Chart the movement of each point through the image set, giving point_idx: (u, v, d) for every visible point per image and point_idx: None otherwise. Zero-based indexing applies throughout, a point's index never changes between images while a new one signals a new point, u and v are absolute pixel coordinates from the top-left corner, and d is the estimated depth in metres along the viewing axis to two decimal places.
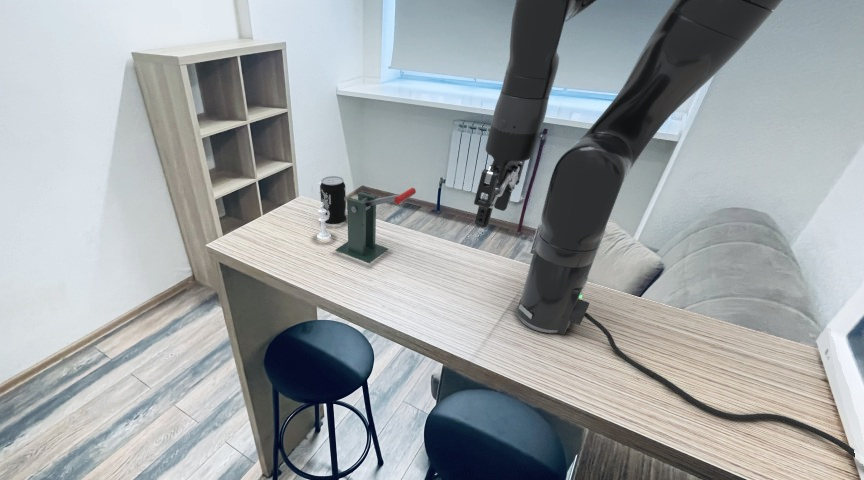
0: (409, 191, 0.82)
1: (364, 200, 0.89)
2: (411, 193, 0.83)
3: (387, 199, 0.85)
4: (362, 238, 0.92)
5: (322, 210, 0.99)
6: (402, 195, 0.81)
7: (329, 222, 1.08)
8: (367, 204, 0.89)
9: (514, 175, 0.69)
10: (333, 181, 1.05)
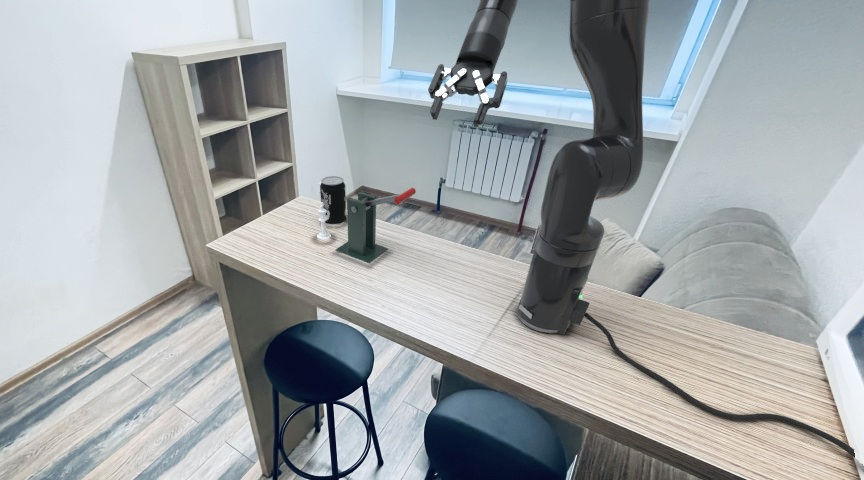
0: (409, 191, 0.82)
1: (364, 200, 0.89)
2: (411, 193, 0.83)
3: (387, 199, 0.85)
4: (362, 238, 0.92)
5: (322, 210, 0.99)
6: (402, 195, 0.81)
7: (329, 222, 1.08)
8: (367, 204, 0.89)
9: (474, 79, 0.78)
10: (333, 181, 1.05)
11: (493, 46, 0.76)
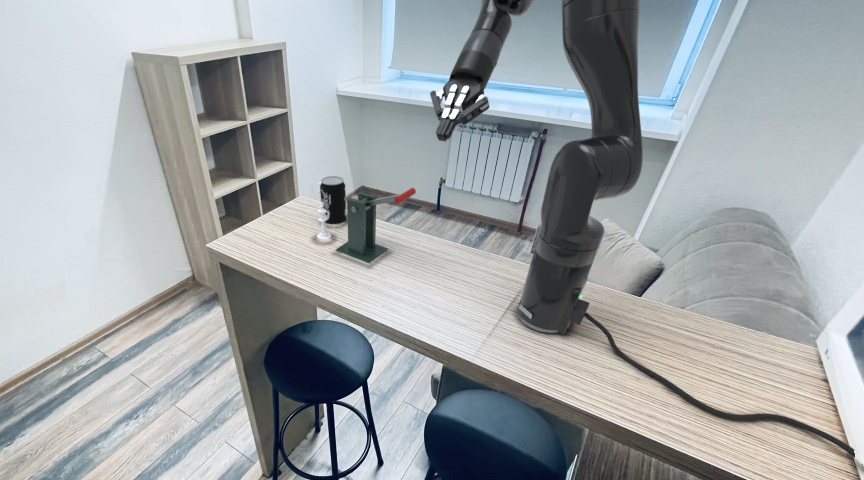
0: (409, 191, 0.82)
1: (364, 200, 0.89)
2: (411, 193, 0.83)
3: (387, 199, 0.85)
4: (362, 238, 0.92)
5: (322, 210, 0.99)
6: (402, 195, 0.81)
7: (329, 222, 1.08)
8: (367, 204, 0.89)
9: (461, 92, 0.80)
10: (333, 181, 1.05)
11: (483, 63, 0.79)
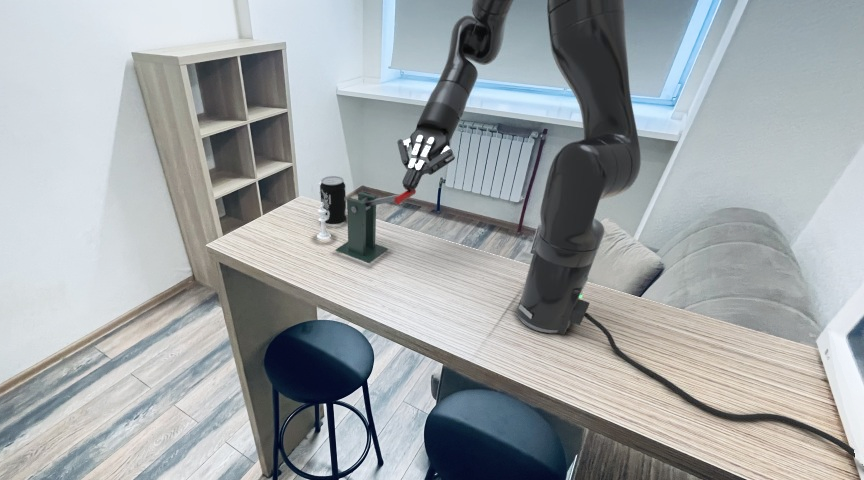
0: (409, 191, 0.82)
1: (364, 200, 0.89)
2: (411, 193, 0.83)
3: (387, 199, 0.85)
4: (362, 238, 0.92)
5: (322, 210, 0.99)
6: (402, 195, 0.81)
7: (329, 222, 1.08)
8: (367, 204, 0.89)
9: None
10: (333, 181, 1.05)
11: (448, 115, 0.79)
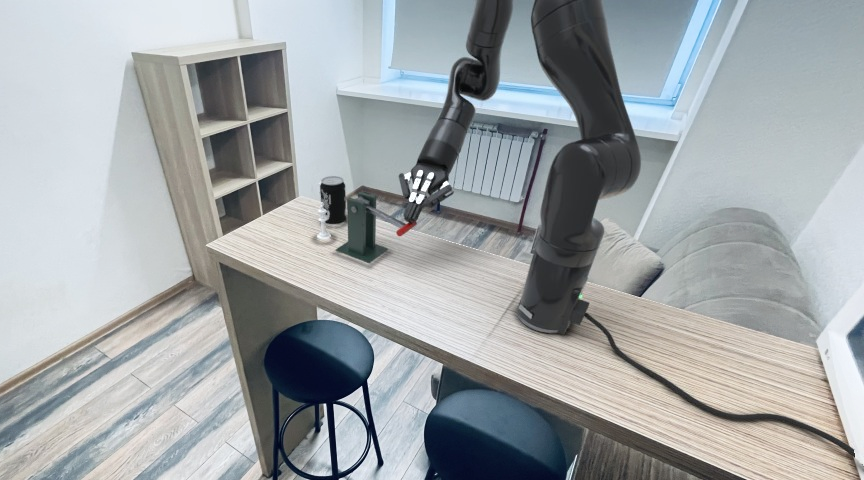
0: (412, 224, 0.86)
1: (366, 204, 0.89)
2: (412, 227, 0.87)
3: (389, 220, 0.87)
4: (362, 238, 0.92)
5: (322, 210, 0.99)
6: (405, 229, 0.84)
7: (329, 222, 1.08)
8: (367, 209, 0.89)
9: None
10: (333, 181, 1.05)
11: (447, 152, 0.83)
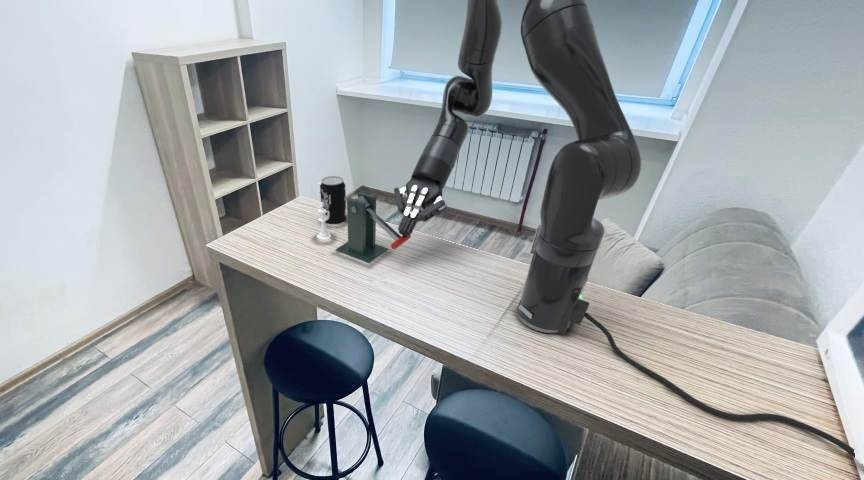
0: (406, 238, 0.89)
1: (367, 206, 0.90)
2: (406, 240, 0.89)
3: (385, 228, 0.89)
4: (362, 238, 0.92)
5: (322, 210, 0.99)
6: (399, 243, 0.87)
7: (329, 222, 1.08)
8: (367, 212, 0.90)
9: (421, 193, 0.87)
10: (333, 181, 1.05)
11: (441, 168, 0.85)
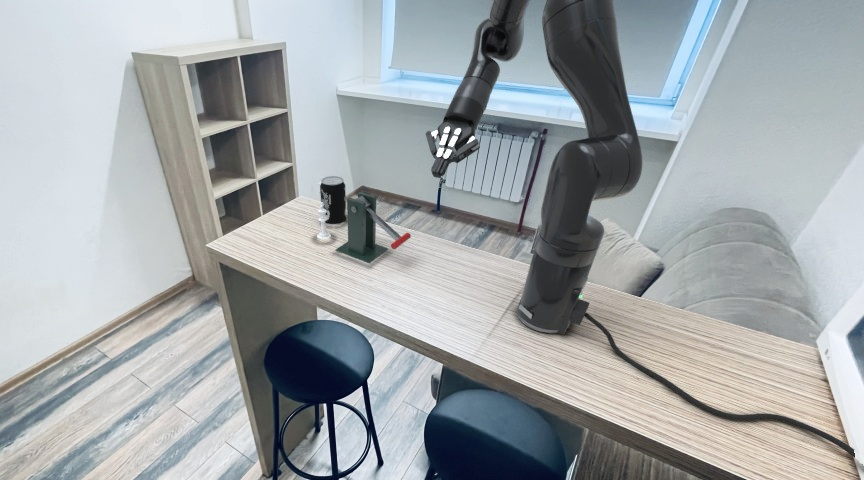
0: (406, 238, 0.89)
1: (367, 206, 0.90)
2: (406, 240, 0.89)
3: (385, 228, 0.89)
4: (362, 238, 0.92)
5: (322, 210, 0.99)
6: (399, 243, 0.87)
7: (329, 222, 1.08)
8: (367, 212, 0.90)
9: (454, 134, 0.88)
10: (333, 181, 1.05)
11: (474, 108, 0.86)
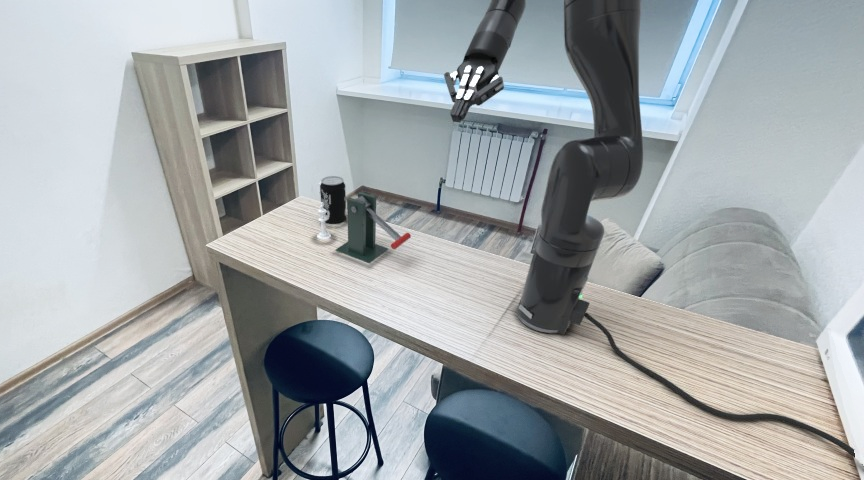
0: (406, 238, 0.89)
1: (367, 206, 0.90)
2: (406, 240, 0.89)
3: (385, 228, 0.89)
4: (362, 238, 0.92)
5: (322, 210, 0.99)
6: (399, 243, 0.87)
7: (329, 222, 1.08)
8: (367, 212, 0.90)
9: None
10: (333, 181, 1.05)
11: (498, 44, 0.79)
